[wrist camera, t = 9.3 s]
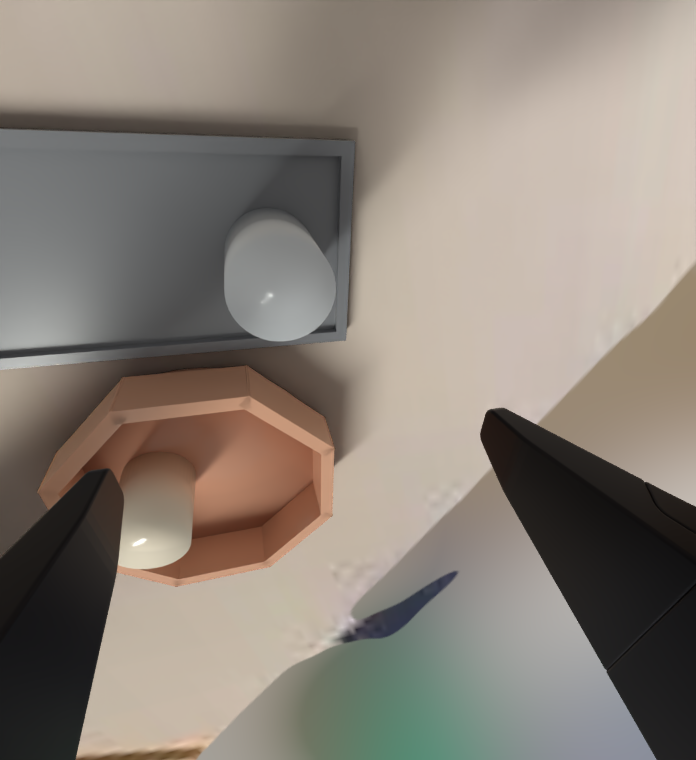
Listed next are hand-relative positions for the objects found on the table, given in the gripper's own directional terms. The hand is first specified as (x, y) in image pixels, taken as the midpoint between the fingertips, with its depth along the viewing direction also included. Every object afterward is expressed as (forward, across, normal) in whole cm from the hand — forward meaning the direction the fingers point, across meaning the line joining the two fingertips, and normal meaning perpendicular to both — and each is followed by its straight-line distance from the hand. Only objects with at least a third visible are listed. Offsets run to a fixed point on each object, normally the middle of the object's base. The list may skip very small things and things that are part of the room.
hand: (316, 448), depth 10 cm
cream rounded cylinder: (+13, +9, +13) cm, 20 cm away
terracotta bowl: (+13, +6, +13) cm, 20 cm away
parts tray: (+14, +5, -1) cm, 15 cm away
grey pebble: (+13, 0, 0) cm, 13 cm away
